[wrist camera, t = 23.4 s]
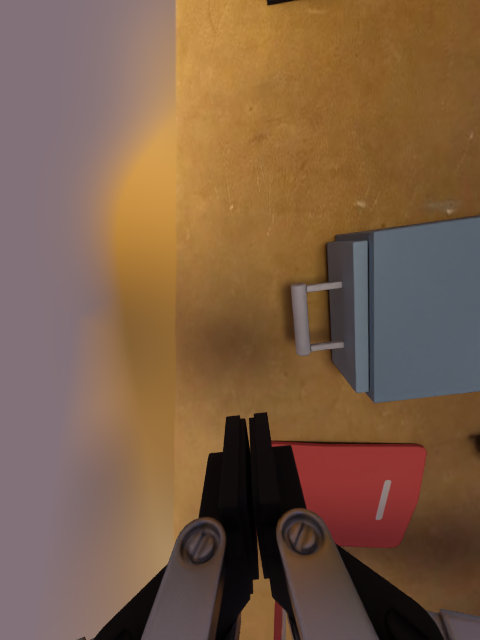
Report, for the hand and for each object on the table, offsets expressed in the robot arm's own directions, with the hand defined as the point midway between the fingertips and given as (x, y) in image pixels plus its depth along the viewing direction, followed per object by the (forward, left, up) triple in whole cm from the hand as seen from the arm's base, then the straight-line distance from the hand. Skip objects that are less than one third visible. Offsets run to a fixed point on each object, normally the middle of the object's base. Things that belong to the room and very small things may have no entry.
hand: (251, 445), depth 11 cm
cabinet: (+19, 0, -21) cm, 28 cm away
